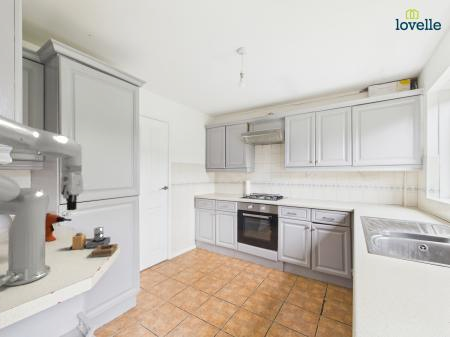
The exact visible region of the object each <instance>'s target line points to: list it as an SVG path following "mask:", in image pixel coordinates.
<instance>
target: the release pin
mask: <svg viewBox="0 0 450 337" xmlns="http://www.w3.org/2000/svg"><path fill="white" fill-rule="evenodd" d="M86 235H87V233H83V232H77V233H76V234H75V235H74V236H72V237H71V238H72V245H71V246H72V249H71V250H72V251H73V250H82V247H83V246H85V245H86V243H87V241H86V239H87V238H86V237H87V236H86Z"/></svg>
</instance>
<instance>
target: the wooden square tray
mask: <svg viewBox="0 0 450 337" xmlns="http://www.w3.org/2000/svg"><path fill="white" fill-rule="evenodd" d="M117 251H118V243H112V244H110V243H109V244H108V245H99V246H98V247H97V248H93V250H92V251H91V258H99V257H101V258H102V257H112V256H113V255H114V253H115V252H117Z"/></svg>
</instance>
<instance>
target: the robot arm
mask: <svg viewBox="0 0 450 337" xmlns="http://www.w3.org/2000/svg"><path fill="white" fill-rule="evenodd" d="M0 145H3V146H7V147H11V148H14V149H18V150H22V151H30V152H39V153H40V154H41V155H42V156H44V157H45V158H49V159H60V164H61V165H60V173H61V179H60V194H61V195H62V196H63V199H65V202H66V211H75V210H77V207H78V205H77V201H78V197H79V196H80V195H81V194H83V192H84V183H83V175H82V173H83V172H82V166H83V164H82V163H83V162H82V160H83V159H82V158H83V157H82V154H83V153H82V151H83V150H82V149H83V148H82V145H81V143H79V142H78V141H76V140H75V139H73V138H71V137H69V136H66V135H64V134H60V133H57V132H51V131H47V130H45V129H44V130H43V129H41V128H35V127H31V126H28V125H26V124H24V123H20V122H18V121H16V120H13V119H11V118H8V117H6V116H3V115H1V114H0ZM49 197H50V196H49V194H48V193H47V192H46V191H45V190H43V189H41V188H35V187H20V185H19V184H18V182H17V181H16V180H14V179H12V178H11V177H10V176H7V175H5V174H3V173H0V216H1V215H2V216H5V215H6V216H8V215H9V216H11V215H12V216H14V218H13V219H12V221H11V222H10V224H9V227H8V234H7V235H8V238H7V239H8V247H7V248H8V250H7V251H8V252H7V253H8V254H7V256H8V259H7V262H8V267H7V268H8V269H7V270H6V274H5V275H4V276H3V277H2V278H0V287H2V286H8V287H10V286H20V285H25V284H29V283H31V282H34V281H38V280H40V279H42V278H43V277H45V276H46V277H47V275H48V274H50V272H51V266H50V265H46V242H45V219H46V214H47V211H48V208H49V205H50V198H49Z"/></svg>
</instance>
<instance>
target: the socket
mask: <svg viewBox="0 0 450 337" xmlns="http://www.w3.org/2000/svg"><path fill="white" fill-rule="evenodd" d="M92 238H93V239H92V240H90V241H86V248H85V249H86V250H88V249H95V248H97V247H98V246H99V245H109V244H110V243H111V236H106V237H104V236H103V241H102V242H94V237H92Z"/></svg>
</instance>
